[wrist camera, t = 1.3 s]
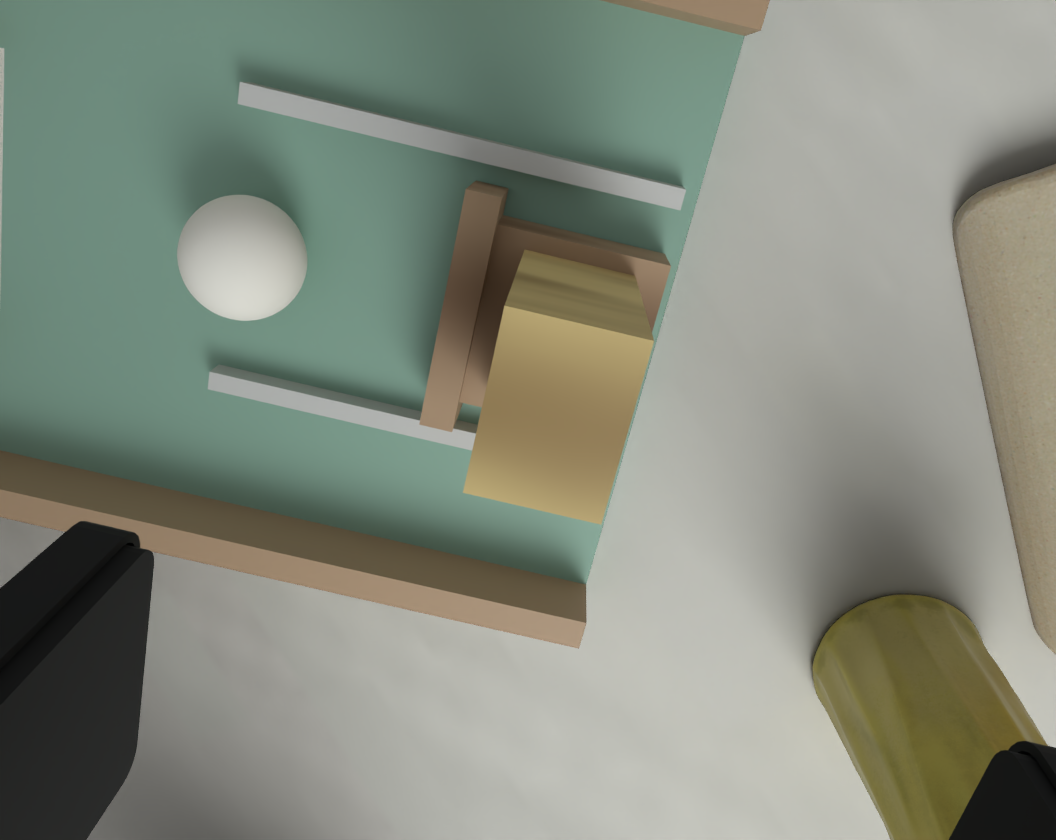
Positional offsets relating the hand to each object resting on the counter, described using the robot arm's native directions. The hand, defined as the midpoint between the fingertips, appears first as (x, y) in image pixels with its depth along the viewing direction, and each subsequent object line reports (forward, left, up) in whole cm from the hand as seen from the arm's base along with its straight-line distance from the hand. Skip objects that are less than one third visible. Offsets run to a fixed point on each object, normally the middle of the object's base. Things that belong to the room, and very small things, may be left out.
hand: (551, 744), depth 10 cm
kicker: (0, +1, -19) cm, 19 cm away
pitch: (0, +11, -21) cm, 23 cm away
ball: (0, +10, -19) cm, 22 cm away
